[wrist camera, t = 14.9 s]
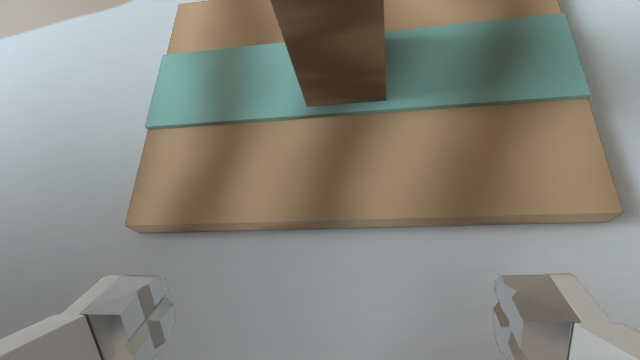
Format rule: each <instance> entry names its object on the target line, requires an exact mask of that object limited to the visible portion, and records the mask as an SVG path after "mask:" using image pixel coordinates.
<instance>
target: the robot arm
mask: <svg viewBox="0 0 640 360" xmlns="http://www.w3.org/2000/svg"><path fill="white" fill-rule="evenodd" d="M494 291H495V294H496V296H497V298H498V301H499V302H498V303H497V304H496V305H495V306H494V308H493V326H494V334H495V338H496V342H497V345H498V348H499V351H500V352H501V353H503V354H504V355H505V356H506V357H507V360H640V333H639V332H637V331H635V330H633V329H631V328H630V327H628V326H626V325H624V324H617V323H613V322H612V321H611V320H610V318H609V317H608V316H607V315H606V314H605V312H604V311H603V310H602V309H601V307H600V306H599V305H598V304H597V303H596V301H595V300H594V299H593V298H592V296H591V295H590V294H589V293H588V292H587V290H586V289H585V288H584V287H583V285H582V284H581V283H580V282H579V281H578V279H577V278H576V277H575V276H574V275H572V274H570V273H568V274H545V275H503V276H497V277H496V280H495V290H494ZM167 292H168V287H167V284H166V281H165V279H164V278H162V277H161V276H141V275H126V276H125V275H109V276H104V277H102V278H101V279H100V280H99V281H98V282H96V283H95V284H94V285H93V286H92V287H91V288H90V289H88V290H87V291H86V292H85V293H84V294H83V295H82V296H80V297H79V298H78V299H77V300H76V301H75V302H74V303H72V304H71V305H70V306H69V307H68V308H67V309H66V310H65V311H63V312H62V313H61V314H60V315H52V316H50V317H48V318H46V319H43V320H41V321H39V322H37V323H35V324H32V325H30V326H28V327H26V328H24V329H22V330H19V331H17V332H15V333H13V334H11V335H8V336H6V337H4V338H2V339H0V360H154V359H155V357H156V348H157V347H159V346H160V345H162V344H163V343H165V342H166V341H167V339H168V338H169V336H170V335H171V333H172V330H173V326H174V323H175V312H174V308H173V304H172V303H171V302H170V301H169V300H168V299H167V298H166V297H165V296H166V294H167Z"/></svg>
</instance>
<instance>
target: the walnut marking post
mask: <svg viewBox="0 0 640 360" xmlns="http://www.w3.org/2000/svg"><path fill="white" fill-rule="evenodd" d="M270 1H271V4H272V7H273V10H274V12H275V15H276V18H277V21H278V24H279V27H280V30H281V33H282V36H283V39H284V42H285V45H286V47H287V50H288V53H289V56H290V59H291V62H292V65H293V68H294V71H295V74H296V77H297V80H298V83H299V85H300V88H301V91H302V94H303V97H304V100H305V103H306V106H307V107H311V106H324V105H337V104H350V103H363V102H376V101H386V70H385V32H384V0H270Z"/></svg>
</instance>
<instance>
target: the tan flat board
mask: <svg viewBox="0 0 640 360" xmlns="http://www.w3.org/2000/svg"><path fill="white" fill-rule="evenodd" d="M384 32H385V70H386V101H376V102H363V103H350V104H337V105H324V106H311V107H307V106H306V103H305V100H304V97H303V94H302V91H301V88H300V85H299V83H298V80H297V77H296V74H295V71H294V68H293V65H292V62H291V59H290V56H289V53H288V50H287V47H286V45H285V42H284V39H283V36H282V33H281V30H280V27H279V24H278V21H277V18H276V15H275V12H274V10H273V7H272V4H271V1H270V0H209V1H201V2H194V3H186V4H179V6H178V10H177V14H176V18H175V22H174V26H173V30H172V34H171V38H170V42H169V47H168V51H167V55H163V57H162V61H161V65H160V69H159V73H158V77H157V81H156V85H155V89H154V93H153V97H152V101H151V105H150V109H149V113H148V117H147V121H146V125H145V127H146V128H147V129H148V132H147V136H146V140H145V144H144V148H143V153H142V157H141V161H140V165H139V169H138V173H137V177H136V181H135V185H134V189H133V193H132V197H131V201H130V206H129V210H128V214H127V218H126V222H125V226H126V227H128V228H130V229H132V230H134V231H136V232H138V233H151V232H194V231H237V230H281V229H324V228H367V227H410V226H453V225H496V224H539V223H583V222H609V221H610V220H612V219H614V218H615V217H617V216H618V215H620V214H621V213H623V211H622V207H621V204H620V201H619V198H618V194H617V191H616V188H615V185H614V182H613V178H612V175H611V172H610V169H609V165H608V162H607V159H606V156H605V152H604V149H603V146H602V143H601V139H600V136H599V133H598V130H597V126H596V123H595V120H594V117H593V113H592V110H591V107H590V104H589V101H588V98H589V96H590V95H591V93H590V90H589V87H588V84H587V81H586V77H585V74H584V71H583V68H582V65H581V61H580V58H579V55H578V52H577V49H576V46H575V42H574V39H573V36H572V33H571V30H570V26H569V23H568V20H567V17H566V14H565V13H561V10H560V7H559V3H558V0H384Z"/></svg>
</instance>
